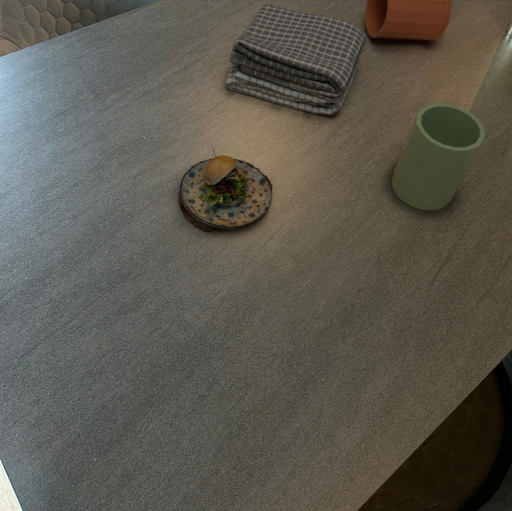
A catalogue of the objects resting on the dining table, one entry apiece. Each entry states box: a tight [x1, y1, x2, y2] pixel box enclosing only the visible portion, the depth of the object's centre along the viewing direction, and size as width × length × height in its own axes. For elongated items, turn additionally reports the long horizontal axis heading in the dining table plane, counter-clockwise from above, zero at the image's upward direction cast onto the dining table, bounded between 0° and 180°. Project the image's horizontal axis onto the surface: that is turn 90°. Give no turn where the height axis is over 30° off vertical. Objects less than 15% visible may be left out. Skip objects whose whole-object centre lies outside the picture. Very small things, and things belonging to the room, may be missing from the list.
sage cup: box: [391, 102, 485, 211], centre depth 81 cm, size 8×8×11 cm
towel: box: [224, 4, 368, 116], centre depth 93 cm, size 15×18×8 cm
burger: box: [178, 145, 274, 232], centre depth 77 cm, size 12×12×8 cm
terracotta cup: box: [364, 0, 452, 42], centre depth 102 cm, size 8×8×11 cm
